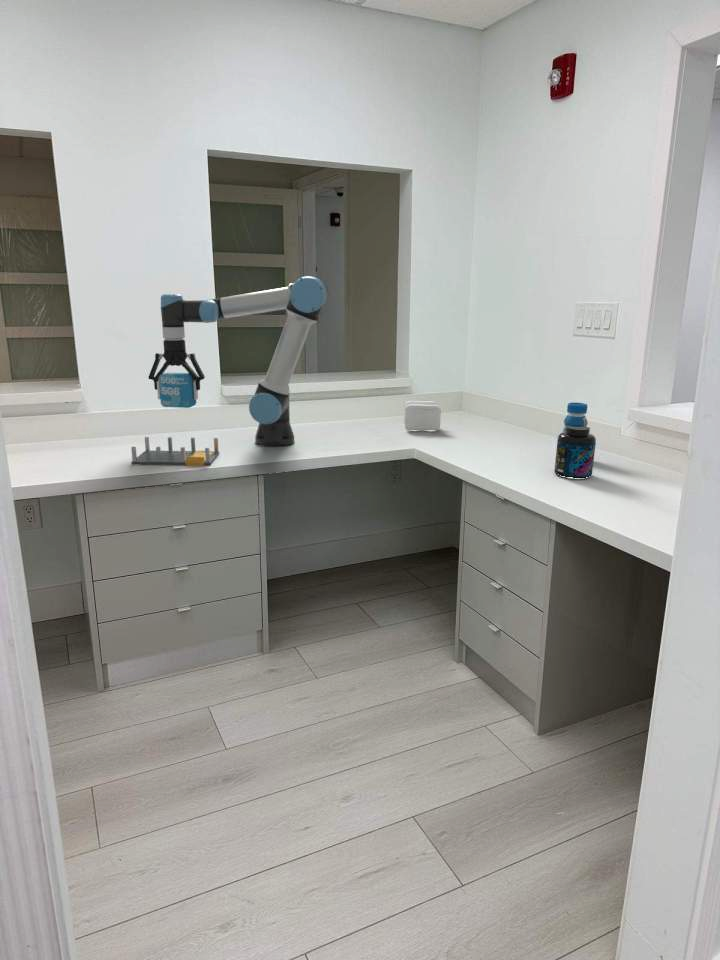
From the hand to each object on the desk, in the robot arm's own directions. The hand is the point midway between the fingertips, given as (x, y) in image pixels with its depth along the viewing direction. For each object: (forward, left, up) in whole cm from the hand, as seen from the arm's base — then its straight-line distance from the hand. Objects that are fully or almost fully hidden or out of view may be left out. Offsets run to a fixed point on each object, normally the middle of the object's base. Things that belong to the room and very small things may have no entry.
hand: (178, 399), depth 244 cm
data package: (0, 0, -3) cm, 3 cm away
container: (-137, +32, -19) cm, 142 cm away
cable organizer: (-94, -38, -19) cm, 103 cm away
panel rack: (-3, +17, -18) cm, 25 cm away
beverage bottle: (-144, +9, -19) cm, 145 cm away
